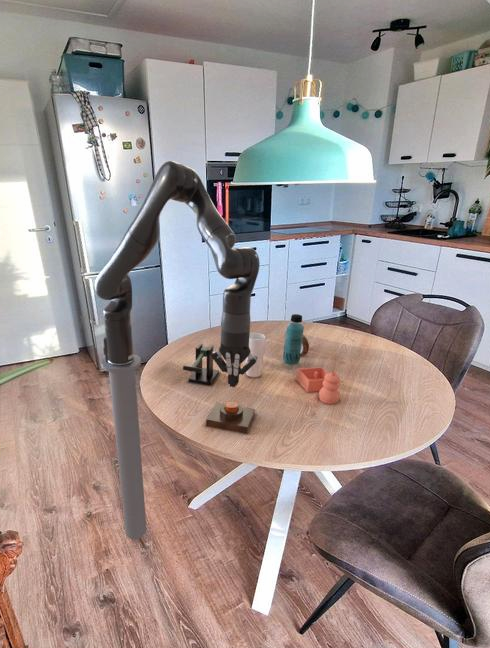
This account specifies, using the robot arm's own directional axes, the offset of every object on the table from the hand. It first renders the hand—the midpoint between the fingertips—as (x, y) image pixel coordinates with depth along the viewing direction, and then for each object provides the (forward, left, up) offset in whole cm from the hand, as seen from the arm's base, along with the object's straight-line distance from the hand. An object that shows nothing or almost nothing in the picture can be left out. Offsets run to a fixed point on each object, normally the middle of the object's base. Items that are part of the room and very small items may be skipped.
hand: (233, 385), depth 108 cm
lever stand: (-16, +23, -12) cm, 30 cm away
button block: (0, 0, -12) cm, 12 cm away
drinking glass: (0, +31, -12) cm, 33 cm away
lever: (-16, +17, -3) cm, 24 cm away
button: (0, 0, -8) cm, 8 cm away
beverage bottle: (+12, +44, -12) cm, 47 cm away
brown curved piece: (+12, +58, -12) cm, 60 cm away
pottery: (+24, +27, -12) cm, 38 cm away
